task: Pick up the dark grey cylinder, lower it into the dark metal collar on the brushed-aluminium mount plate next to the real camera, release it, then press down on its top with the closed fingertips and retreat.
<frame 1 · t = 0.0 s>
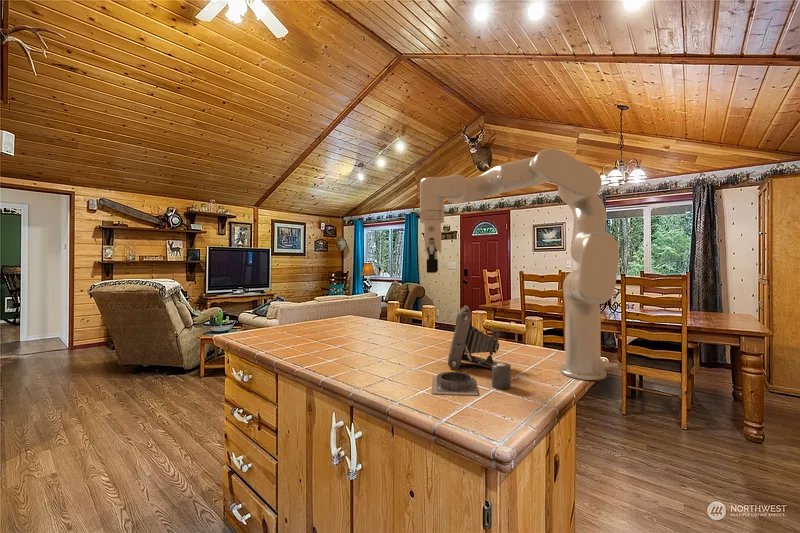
hand: (432, 272, 113), 31 cm above the counter, fingers open, 9 cm apart
camera: (473, 366, 118), on the counter
mount: (453, 386, 99), on the counter
dark grey cylinder: (501, 386, 98), on the counter
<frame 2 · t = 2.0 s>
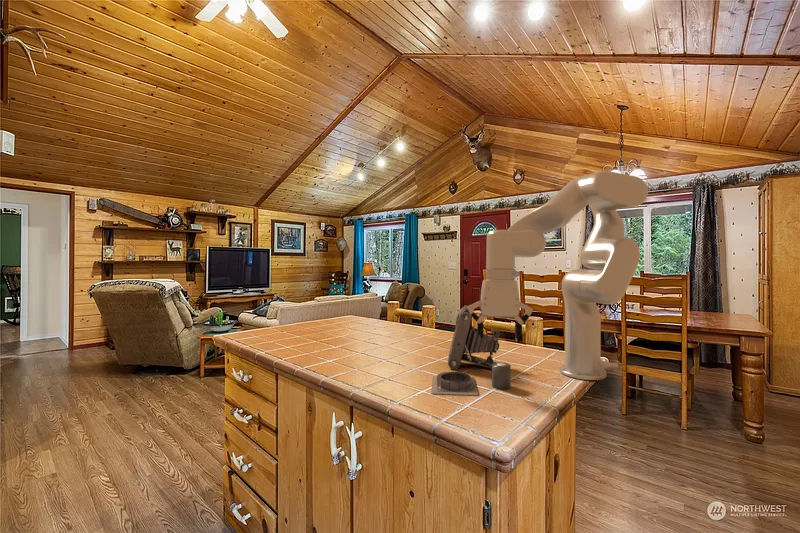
hand: (499, 337, 98), 14 cm above the counter, fingers open, 9 cm apart
nothing on the counter moved.
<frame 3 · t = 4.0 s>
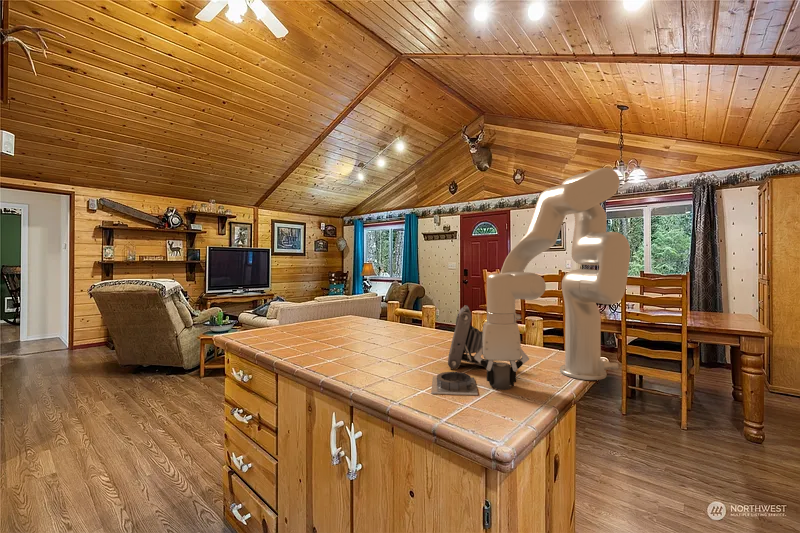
hand: (501, 383, 98), 1 cm above the counter, fingers closed on dark grey cylinder, 4 cm apart
dark grey cylinder: (501, 386, 98), on the counter, touching gripper
everything else where it was.
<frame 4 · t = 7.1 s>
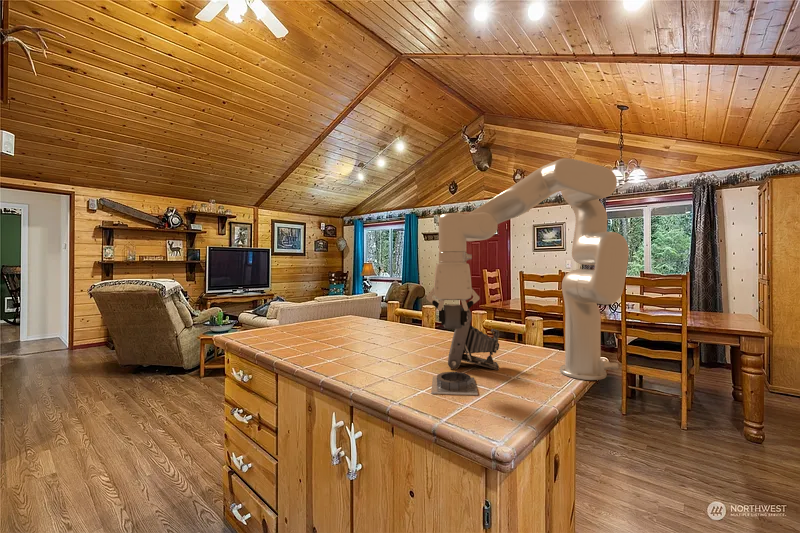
hand: (452, 323, 98), 17 cm above the counter, fingers closed on dark grey cylinder, 4 cm apart
dark grey cylinder: (452, 326, 98), point 17 cm above the counter, touching gripper
everything else where it was.
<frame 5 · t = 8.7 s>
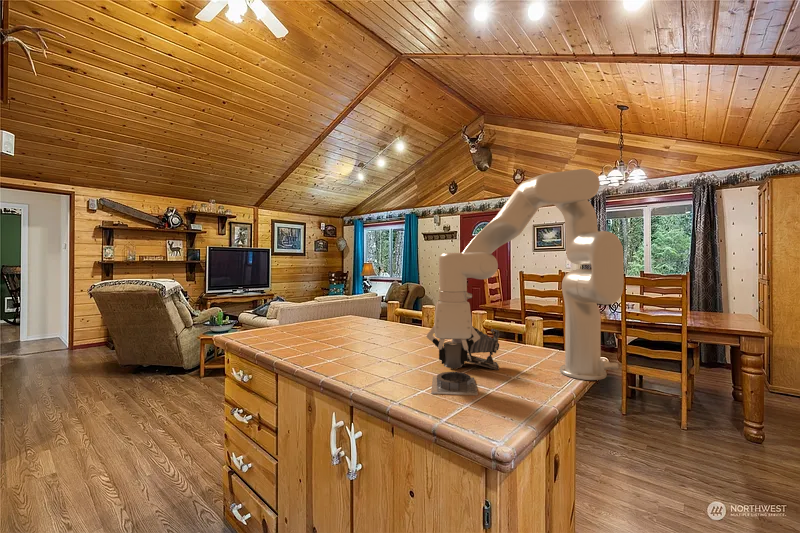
hand: (452, 362, 99), 7 cm above the counter, fingers closed on dark grey cylinder, 4 cm apart
dark grey cylinder: (452, 365, 99), point 6 cm above the counter, touching gripper
everything else where it was.
when the fingers open (5 cm above the counter, at t = 10.0 s): dark grey cylinder drops 3 cm, resting on mount.
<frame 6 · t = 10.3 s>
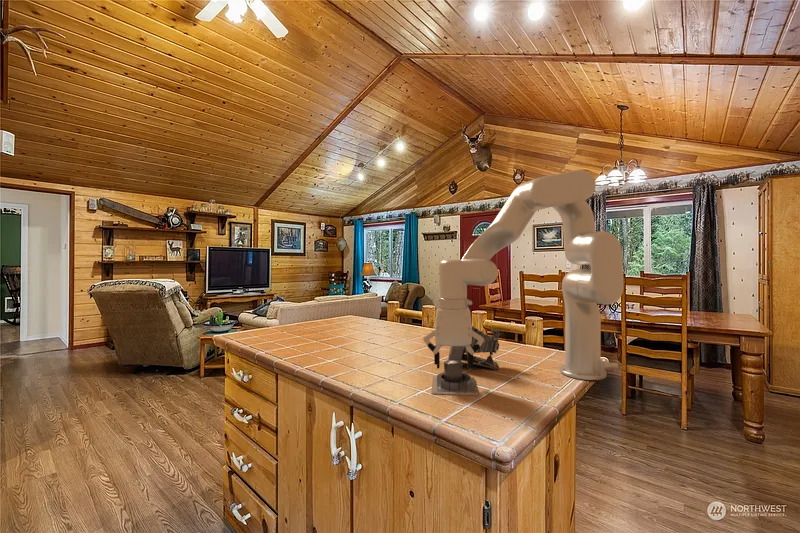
hand: (453, 367, 99), 5 cm above the counter, fingers open, 8 cm apart
dark grey cylinder: (453, 384, 99), point 1 cm above the counter, touching mount
everything else where it was.
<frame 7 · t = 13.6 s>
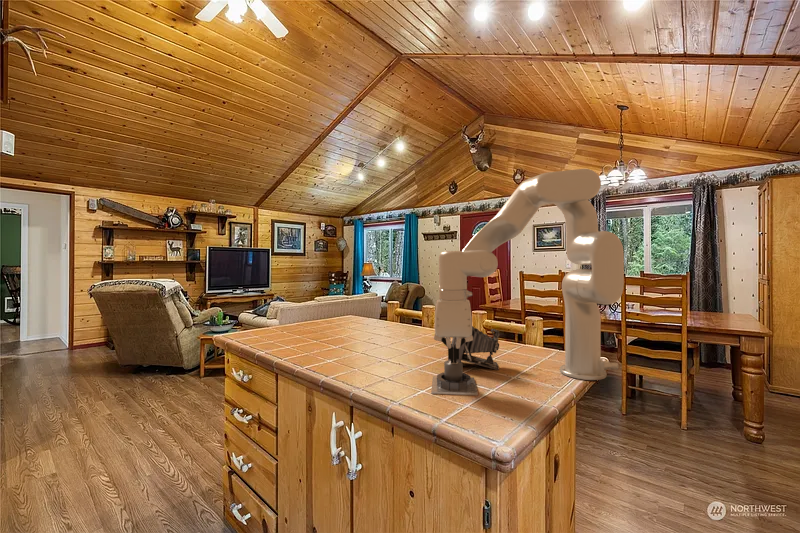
hand: (453, 361, 99), 7 cm above the counter, fingers closed
nothing on the counter moved.
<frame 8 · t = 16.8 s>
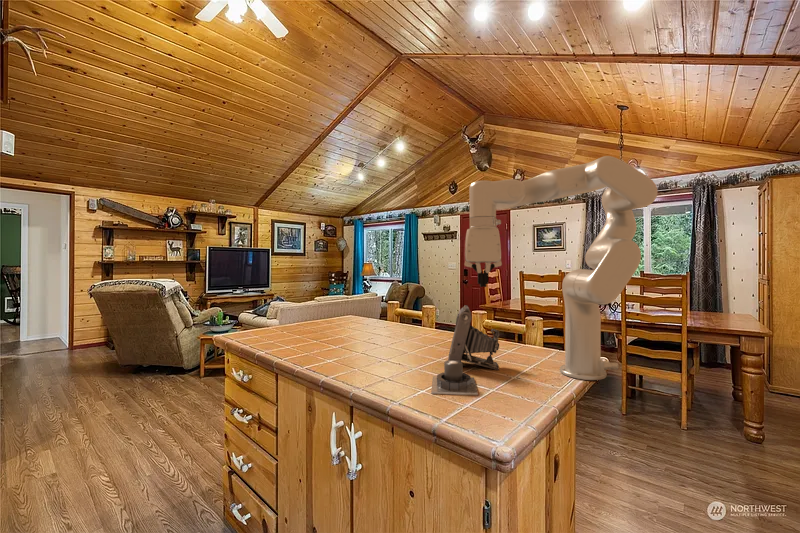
hand: (483, 286, 105), 27 cm above the counter, fingers closed
nothing on the counter moved.
at the end: dark grey cylinder 0.0 cm off-centre on the mount, point 0.6 cm above the mount's base; dark grey cylinder tilted 0°; the gripper is holding nothing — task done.
